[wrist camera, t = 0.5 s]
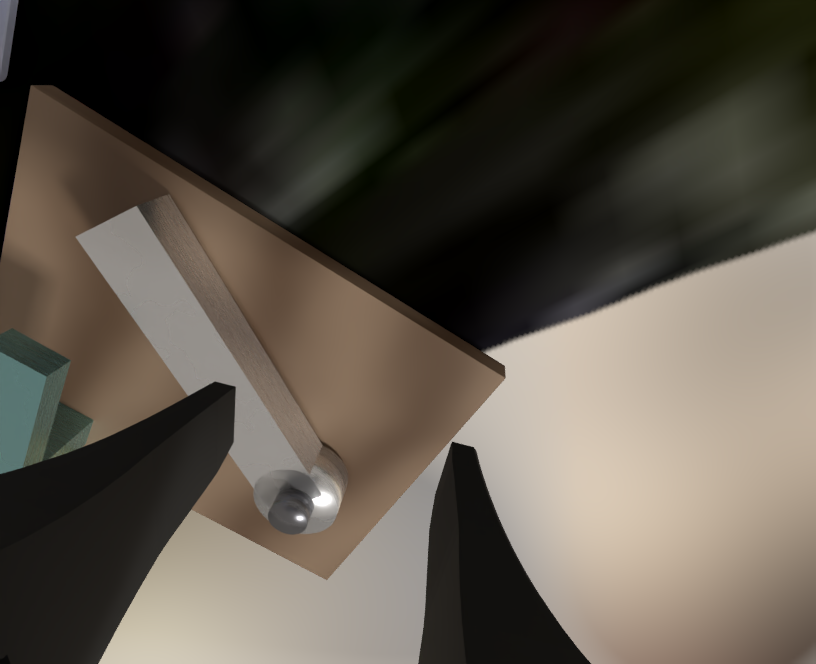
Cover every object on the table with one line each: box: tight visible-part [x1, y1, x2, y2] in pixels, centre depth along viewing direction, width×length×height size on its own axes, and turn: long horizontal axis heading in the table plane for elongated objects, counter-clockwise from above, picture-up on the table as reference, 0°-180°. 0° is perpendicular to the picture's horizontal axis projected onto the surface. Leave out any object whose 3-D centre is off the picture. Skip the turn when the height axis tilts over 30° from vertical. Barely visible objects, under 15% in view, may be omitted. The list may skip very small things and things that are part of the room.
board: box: [0, 85, 505, 580], centre depth 23 cm, size 21×17×1 cm
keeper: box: [0, 328, 94, 474], centre depth 22 cm, size 2×9×5 cm, turn 149°
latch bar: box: [76, 194, 348, 535], centre depth 21 cm, size 16×4×3 cm, turn 24°
